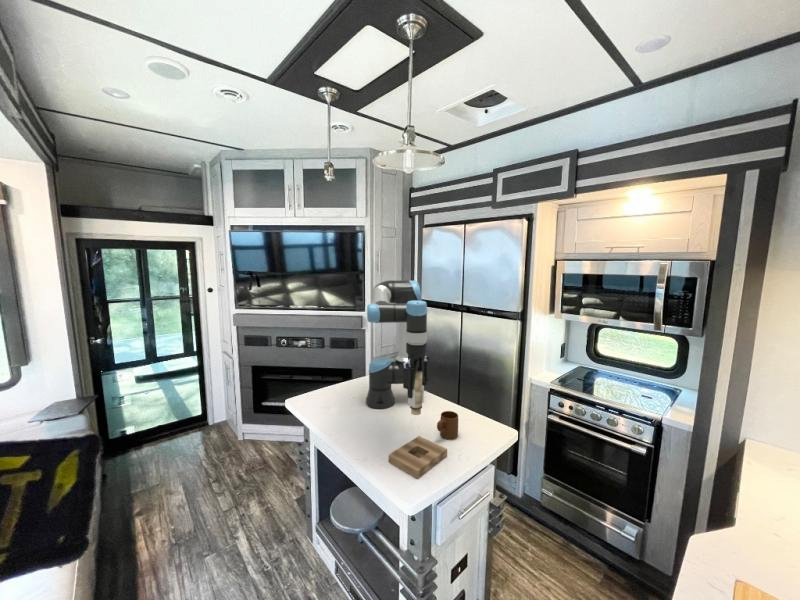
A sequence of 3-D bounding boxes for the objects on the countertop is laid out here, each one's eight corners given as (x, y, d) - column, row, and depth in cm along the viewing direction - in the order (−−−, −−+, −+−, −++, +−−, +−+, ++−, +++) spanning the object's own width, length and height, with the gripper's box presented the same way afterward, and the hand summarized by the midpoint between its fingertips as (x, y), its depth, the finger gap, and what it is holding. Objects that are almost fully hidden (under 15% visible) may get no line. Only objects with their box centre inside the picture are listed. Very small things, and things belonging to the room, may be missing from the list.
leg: (415, 409, 127) (415, 369, 125) (424, 412, 124) (424, 371, 122) (407, 413, 124) (407, 371, 122) (416, 416, 121) (417, 374, 119)
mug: (444, 446, 133) (445, 424, 132) (430, 439, 138) (430, 418, 137) (461, 435, 142) (462, 414, 140) (447, 429, 147) (447, 409, 146)
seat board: (418, 442, 136) (418, 435, 135) (447, 456, 126) (447, 448, 126) (388, 462, 123) (388, 454, 122) (417, 479, 113) (417, 471, 113)
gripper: (423, 337, 130) (422, 394, 132) (392, 345, 117) (392, 408, 119) (438, 340, 125) (437, 399, 127) (408, 348, 112) (408, 414, 114)
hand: (416, 403), depth 123 cm, fingers closed on leg, 4 cm apart
